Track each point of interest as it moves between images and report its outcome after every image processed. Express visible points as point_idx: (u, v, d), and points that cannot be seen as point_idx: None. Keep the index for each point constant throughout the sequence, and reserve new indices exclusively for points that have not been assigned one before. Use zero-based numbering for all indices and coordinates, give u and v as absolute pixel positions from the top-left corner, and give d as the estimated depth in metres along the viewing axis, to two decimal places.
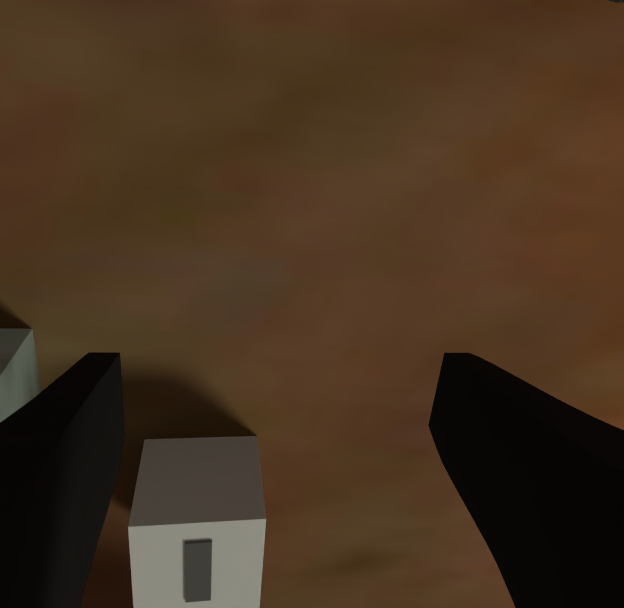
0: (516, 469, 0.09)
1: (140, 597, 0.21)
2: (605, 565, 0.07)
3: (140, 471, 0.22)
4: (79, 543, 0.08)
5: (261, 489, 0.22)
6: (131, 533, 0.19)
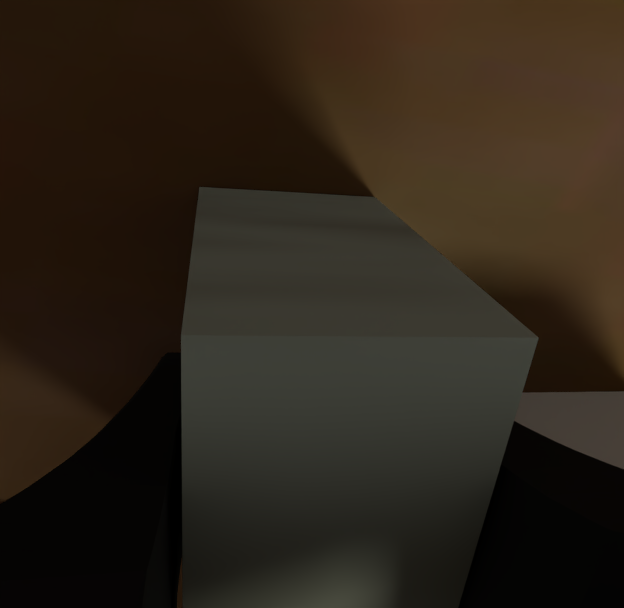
0: None
1: None
2: (503, 574, 0.07)
3: None
4: (177, 537, 0.09)
5: None
6: None
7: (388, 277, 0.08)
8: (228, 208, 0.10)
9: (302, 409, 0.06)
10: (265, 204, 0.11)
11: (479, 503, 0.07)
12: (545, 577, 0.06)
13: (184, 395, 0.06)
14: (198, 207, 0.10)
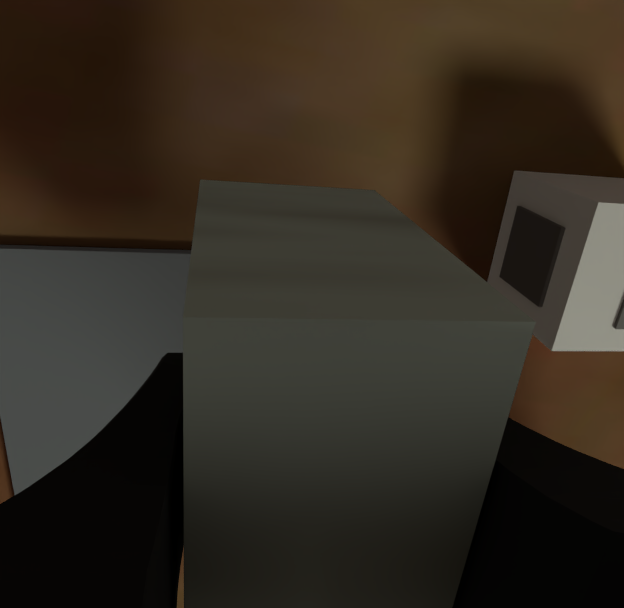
0: None
1: (570, 317, 0.17)
2: (503, 573, 0.07)
3: (546, 182, 0.18)
4: (178, 537, 0.09)
5: None
6: (598, 213, 0.16)
7: (387, 264, 0.08)
8: (228, 199, 0.10)
9: (302, 392, 0.06)
10: (265, 196, 0.11)
11: (477, 487, 0.07)
12: (545, 577, 0.06)
13: (185, 377, 0.06)
14: (199, 198, 0.10)
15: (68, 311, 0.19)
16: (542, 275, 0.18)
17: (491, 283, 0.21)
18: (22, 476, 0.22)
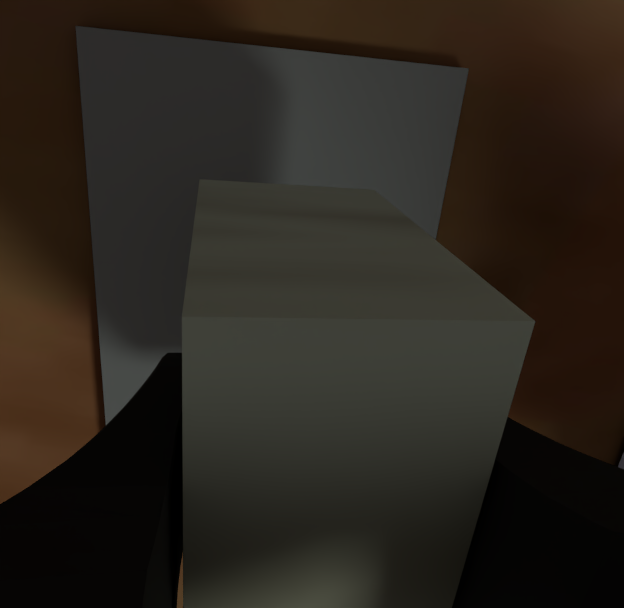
0: None
1: None
2: (503, 574, 0.07)
3: None
4: (178, 537, 0.09)
5: None
6: None
7: (387, 264, 0.08)
8: (228, 199, 0.10)
9: (301, 392, 0.06)
10: (265, 195, 0.11)
11: (477, 488, 0.07)
12: (545, 577, 0.06)
13: (185, 377, 0.06)
14: (198, 198, 0.10)
15: (198, 136, 0.14)
16: None
17: None
18: (116, 377, 0.17)
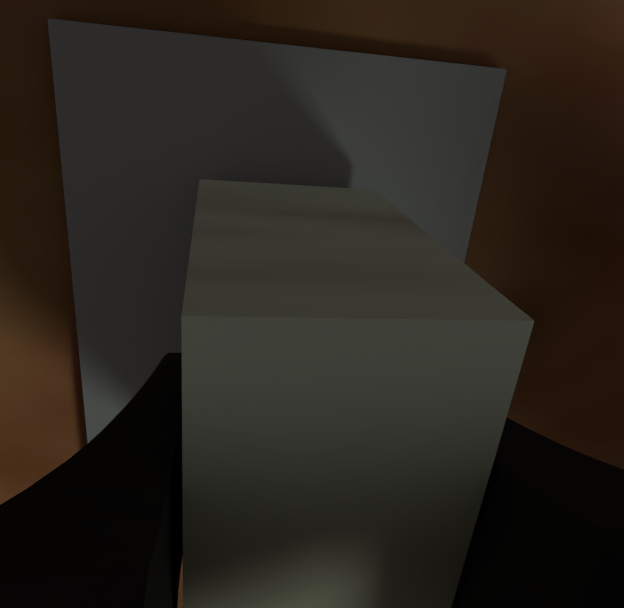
0: None
1: None
2: (502, 574, 0.07)
3: None
4: (178, 537, 0.09)
5: None
6: None
7: (386, 264, 0.08)
8: (228, 199, 0.10)
9: (301, 390, 0.06)
10: (264, 195, 0.11)
11: (476, 487, 0.07)
12: (543, 577, 0.06)
13: (184, 376, 0.06)
14: (198, 198, 0.10)
15: (193, 147, 0.12)
16: None
17: None
18: (101, 420, 0.15)
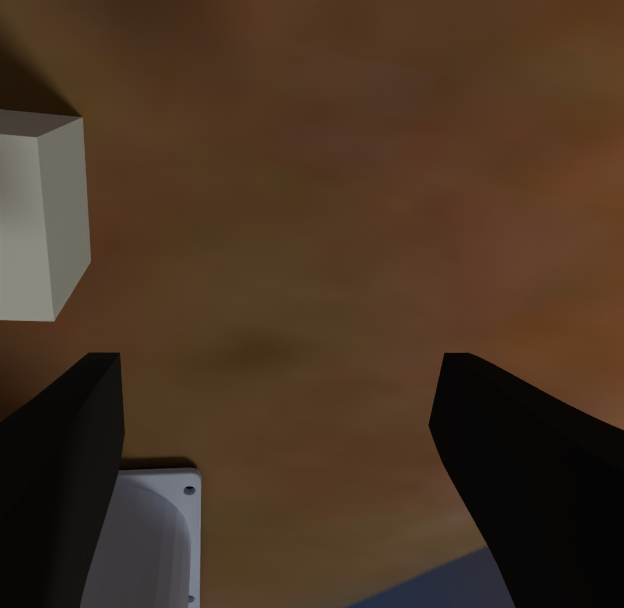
0: (516, 468, 0.09)
1: None
2: (605, 565, 0.07)
3: None
4: (79, 543, 0.08)
5: (51, 129, 0.14)
6: None
7: None
8: None
9: None
10: None
11: None
12: None
13: None
14: None
15: None
16: None
17: None
18: None
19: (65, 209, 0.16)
